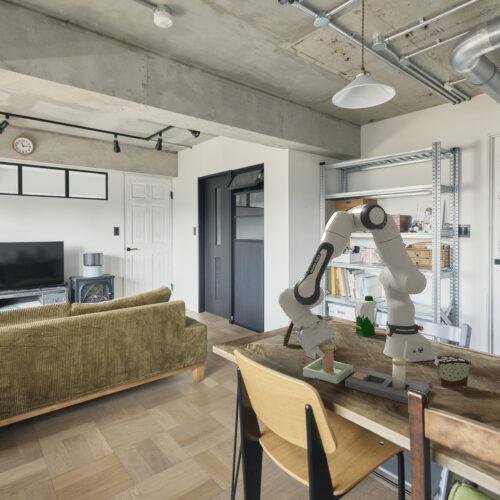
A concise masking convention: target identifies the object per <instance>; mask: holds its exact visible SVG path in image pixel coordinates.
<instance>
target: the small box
mask: <svg viewBox="0 0 500 500" xmlns="http://www.w3.org/2000/svg"><path fill="white" fill-rule="evenodd" d="M325 343H327V342H325ZM318 347H319V349H320V350H321V351H322V352H323V348H322V344H321V345H319V346H318ZM305 356H306V357H308V358H310V359H312V360H314V361H316V360H317V359H319V358H321V357H320V356H319V355H318V354H317V353H315V352H314V351H313V350H310V351H309V352H307V351H305Z"/></svg>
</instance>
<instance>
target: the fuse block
mask: <svg viewBox="0 0 500 500" xmlns="http://www.w3.org/2000/svg"><path fill="white" fill-rule="evenodd" d="M344 387H346V388H350V389H354V390H357V391H360V392H364V393H367V394H370V395H373V396H379V397H381V398H385V399H388V400H392V401H396V402H399V403H403V404H405V405H409V404H408V395H407V392H408V390H409V389H412V390H417V391H420V392H422V393H425V394H426V396H427V395H428V393H429V391H430V384H427V383H424V382H419V381H414V380H410V379H406V378H405V389H406V390H405V391H401V390H398V389H394V388H391V387H392V375H390V374H386V373H381V372H377V371H373V370H369V369H366V368H359V369H357V370H356V371H355V372H354V373H352V374H350V375H349V377H348V378H346V379H344Z"/></svg>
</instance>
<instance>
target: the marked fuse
mask: <svg viewBox="0 0 500 500" xmlns="http://www.w3.org/2000/svg"><path fill="white" fill-rule="evenodd" d="M334 345H335V343H334V344H331V343H323V344H322V348H323V351H324V352H325V354H326V356H325V357H323V369H322V372H323V373H327V374H331V375H333V374H334V361H335V360H334V351H333V349H334Z"/></svg>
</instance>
